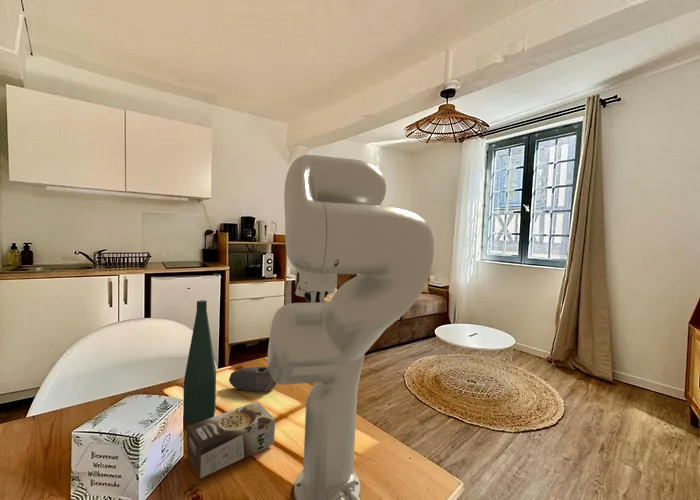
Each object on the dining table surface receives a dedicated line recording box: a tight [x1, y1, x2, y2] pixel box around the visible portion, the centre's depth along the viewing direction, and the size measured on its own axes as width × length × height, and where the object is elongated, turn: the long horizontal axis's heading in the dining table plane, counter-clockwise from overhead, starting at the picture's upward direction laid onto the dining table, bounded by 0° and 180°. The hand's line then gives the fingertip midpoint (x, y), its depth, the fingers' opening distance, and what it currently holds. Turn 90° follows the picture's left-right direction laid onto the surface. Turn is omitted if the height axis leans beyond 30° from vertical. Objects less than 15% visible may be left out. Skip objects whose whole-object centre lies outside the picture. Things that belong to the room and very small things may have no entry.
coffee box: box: [186, 401, 276, 479], centre depth 69 cm, size 9×6×16 cm
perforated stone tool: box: [228, 366, 278, 393], centre depth 96 cm, size 15×5×7 cm, turn 86°
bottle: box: [182, 300, 217, 424], centre depth 81 cm, size 8×8×30 cm
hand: (314, 317), depth 81 cm, fingers closed
